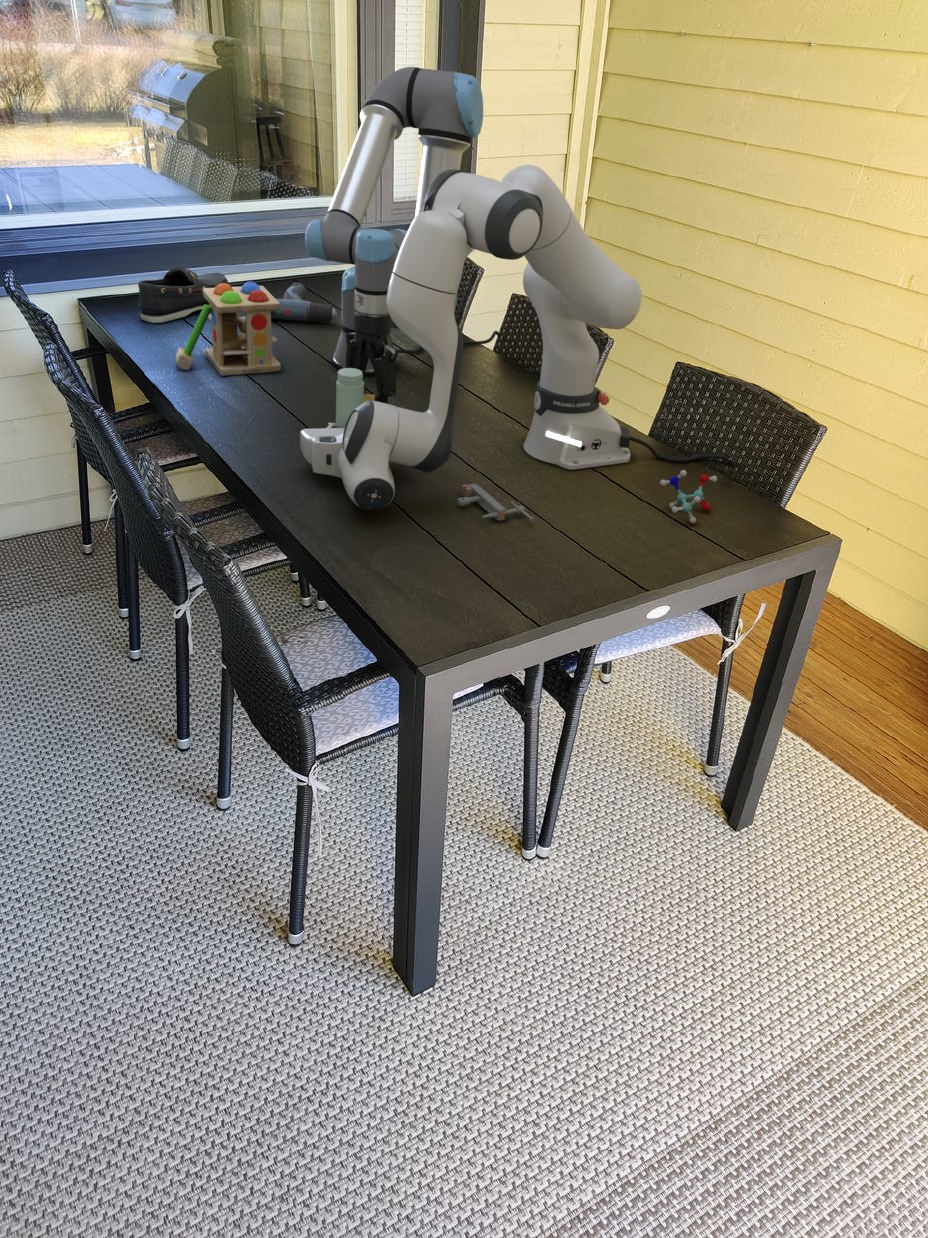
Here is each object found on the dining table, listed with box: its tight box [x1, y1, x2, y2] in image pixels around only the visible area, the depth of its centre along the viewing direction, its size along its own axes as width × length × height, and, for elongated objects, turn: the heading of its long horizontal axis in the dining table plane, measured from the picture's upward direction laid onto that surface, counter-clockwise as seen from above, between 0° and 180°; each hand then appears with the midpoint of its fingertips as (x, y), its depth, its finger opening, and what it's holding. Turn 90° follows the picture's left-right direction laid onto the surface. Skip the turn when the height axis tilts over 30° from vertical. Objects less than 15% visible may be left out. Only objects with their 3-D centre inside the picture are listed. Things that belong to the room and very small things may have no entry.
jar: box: [335, 368, 365, 428], centre depth 190 cm, size 5×5×18 cm
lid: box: [363, 393, 377, 403], centre depth 209 cm, size 6×6×2 cm
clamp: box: [456, 483, 535, 523], centre depth 180 cm, size 15×2×10 cm
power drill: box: [271, 282, 338, 322], centre depth 265 cm, size 5×19×20 cm
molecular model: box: [659, 469, 718, 524], centre depth 185 cm, size 12×10×10 cm
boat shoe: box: [137, 266, 230, 324], centre depth 260 cm, size 13×33×10 cm, turn 147°
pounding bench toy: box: [174, 281, 282, 377], centre depth 225 cm, size 23×14×18 cm, turn 116°
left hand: (368, 418), depth 211 cm, fingers closed on lid, 6 cm apart
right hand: (348, 425), depth 192 cm, fingers closed on jar, 5 cm apart
